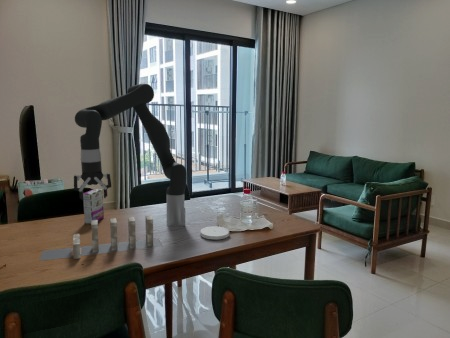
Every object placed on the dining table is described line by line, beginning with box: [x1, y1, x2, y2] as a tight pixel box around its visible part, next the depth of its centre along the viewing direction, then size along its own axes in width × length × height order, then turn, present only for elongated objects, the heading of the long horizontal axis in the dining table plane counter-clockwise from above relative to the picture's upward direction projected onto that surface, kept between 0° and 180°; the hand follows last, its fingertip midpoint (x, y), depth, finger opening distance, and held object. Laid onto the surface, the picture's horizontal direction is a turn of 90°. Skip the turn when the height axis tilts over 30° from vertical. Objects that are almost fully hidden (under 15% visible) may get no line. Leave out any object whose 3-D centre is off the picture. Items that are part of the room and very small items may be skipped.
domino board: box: [39, 237, 164, 262], centre depth 144 cm, size 48×10×1 cm, turn 111°
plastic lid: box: [200, 225, 230, 240], centre depth 165 cm, size 14×14×2 cm
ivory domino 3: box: [127, 216, 137, 248], centre depth 147 cm, size 2×6×12 cm, turn 21°
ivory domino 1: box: [90, 220, 100, 252], centre depth 141 cm, size 2×6×12 cm, turn 21°
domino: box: [72, 233, 81, 260], centre depth 138 cm, size 2×6×12 cm
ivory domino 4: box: [144, 214, 154, 246], centre depth 149 cm, size 2×6×12 cm, turn 21°
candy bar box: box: [82, 188, 105, 225], centre depth 180 cm, size 11×5×16 cm, turn 168°
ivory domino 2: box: [109, 217, 118, 250], centre depth 144 cm, size 2×6×12 cm, turn 21°
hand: (93, 198), depth 139 cm, fingers open, 8 cm apart
